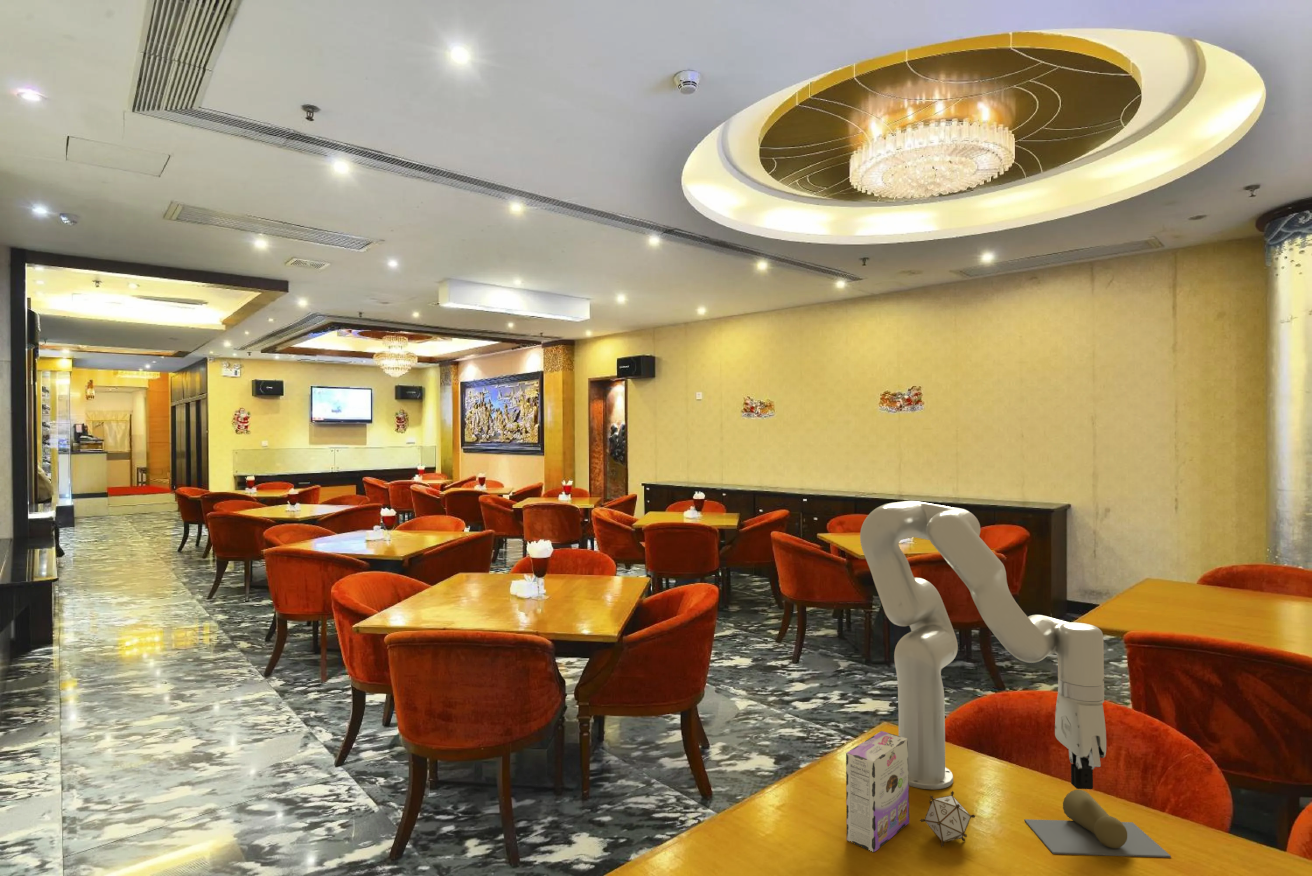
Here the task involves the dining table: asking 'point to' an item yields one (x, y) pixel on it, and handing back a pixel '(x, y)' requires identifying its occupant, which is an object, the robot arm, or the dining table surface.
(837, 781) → the dining table surface
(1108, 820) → the cork
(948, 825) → the game die
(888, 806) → the candy box
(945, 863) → the dining table surface
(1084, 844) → the felt mat
